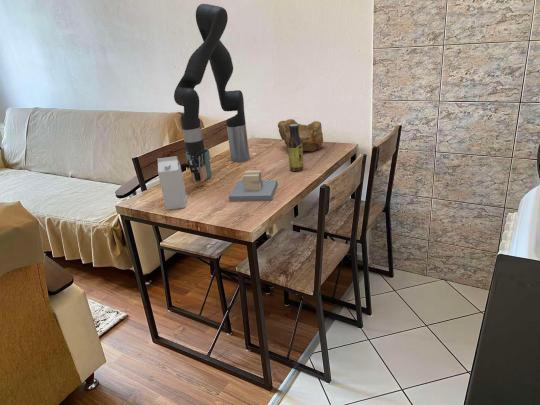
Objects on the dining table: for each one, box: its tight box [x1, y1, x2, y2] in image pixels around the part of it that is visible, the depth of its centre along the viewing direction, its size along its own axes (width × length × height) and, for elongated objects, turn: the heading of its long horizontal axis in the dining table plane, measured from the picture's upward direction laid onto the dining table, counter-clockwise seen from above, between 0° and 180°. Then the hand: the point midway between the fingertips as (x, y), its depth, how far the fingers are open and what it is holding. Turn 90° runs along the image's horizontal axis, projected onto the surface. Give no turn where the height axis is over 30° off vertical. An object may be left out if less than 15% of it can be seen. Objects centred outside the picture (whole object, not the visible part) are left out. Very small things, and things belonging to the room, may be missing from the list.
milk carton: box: [157, 156, 188, 211], centre depth 149 cm, size 7×7×19 cm
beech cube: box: [242, 170, 263, 191], centre depth 155 cm, size 6×6×6 cm
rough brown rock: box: [277, 118, 324, 154], centre depth 201 cm, size 23×17×15 cm
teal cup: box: [185, 147, 212, 180], centre depth 177 cm, size 10×10×12 cm
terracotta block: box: [191, 166, 207, 183], centre depth 167 cm, size 5×5×5 cm
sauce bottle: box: [287, 123, 304, 172], centre depth 174 cm, size 6×6×20 cm
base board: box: [228, 179, 279, 202], centre depth 157 cm, size 16×16×2 cm
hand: (200, 178), depth 168 cm, fingers closed on terracotta block, 4 cm apart
